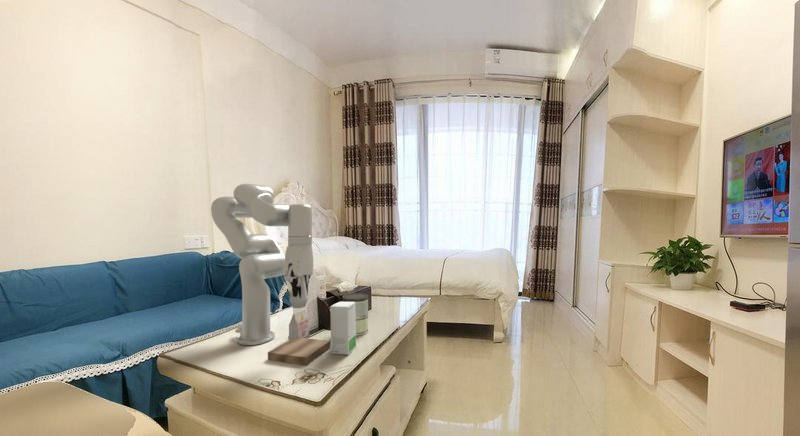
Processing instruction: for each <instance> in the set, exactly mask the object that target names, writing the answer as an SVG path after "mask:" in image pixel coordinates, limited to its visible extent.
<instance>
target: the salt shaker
mask: <svg viewBox="0 0 800 436" xmlns="http://www.w3.org/2000/svg"><path fill="white" fill-rule="evenodd" d="M295 280H296V281H297V279H295ZM300 286H301V298H300V297H299V292H298V295H297V296H296V297H294V296H293V290H292V289H291V292H290V296H289V303H290V304H291V306H292V308H293V309H302V308H305V307H306V305H307V303H308V300H309V297H308V296H309V294H308V295H307V289H306V283H305V277H304V276H301V277H300Z"/></svg>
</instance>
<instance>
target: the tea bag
mask: <svg viewBox="0 0 800 436" xmlns="http://www.w3.org/2000/svg"><path fill="white" fill-rule="evenodd" d="M309 324H310V321H309V317H308V314H307V313H306V309H302V310H300V311H297V312H295V313H292V317H291V319H290V321H289V324H288V341H289V340H291V339H293V338H295V337H300V338H306V337H307V336H308V337H310V328H309V327H310V325H309ZM308 337H307V338H308Z"/></svg>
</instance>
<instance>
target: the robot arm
mask: <svg viewBox="0 0 800 436" xmlns="http://www.w3.org/2000/svg"><path fill="white" fill-rule="evenodd" d="M274 199H275V195H274V192H273V190H272V188H270V187H269V186H267V185H264V184H262V185H261V184H253V183H241V184H238V185H237V186H236V187H235V188H234V189H233V196H221V197H217V198H215V199H214V200H213V201H212V203H211V206H210V212H211V217H212V220H213V222H214V224H215V226H216V227H217V228H218V230H219V231H220V232H221V234H223V236H224V237H225V240H226V241H227V242H228V244H229V246H230V248H231V251H232V252H233V253H234V255H235V256H236V257H237V258H239V259H241V260H240V262H239V265H238V270H239V275H240V281H241V292H242V293H241V296H242V297H241V300H242V304H241V306H242V307H241V310H242V311H241V313H242V314H241V316H242V318H241V319H242V321H241V322H242V325H238V327H237V328H235V330H234V331H235V333H236V334H239V336H238V338H237V344H239V345H243V346H255V345H261V344H266V343H268V342H270V341H272V340H274V338H275V335H276V334H275V332H273V331H271V289H270V287H269V285H268V284H267V283H266V281H265V279H270V278H277V277H281V276H283V275H284V277H285V280H286V281H287V282H289V284H290V287H291V291H292V290H293V296H294V297H296V296H297V295H298V292H299V297H300V298H301V286H300V277H301V276H304V277H305V283H306V289H307V295H308V296H309V284H310V278H311V277H312V275H313V273H314V254H313V253H314V252H313V246H312V245H313V209H312V206H311V205H309V204H306V203H300V204H299V203H295V204H282V203H274ZM238 218H240V219H241V218H244V219H245V218H246V219H250V218H252V219H253V220H254V221H256V222H258V223H259V224H261V225H262V226H265V227H287V236H288V237H287V246H286V249H285V253H284V252H283V250H282V248H281V247H280V246H279V244H278V243H277V241H276V240H275V238H274V237H273V236H272V235H269V234H267V233H252V232H250V230H249V228H248V227H247V226H246V224H245V223H243V222H242V221H241V220H239V219H238ZM295 279H297V281H296V280H295Z"/></svg>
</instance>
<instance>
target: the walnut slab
mask: <svg viewBox="0 0 800 436" xmlns="http://www.w3.org/2000/svg"><path fill="white" fill-rule="evenodd" d="M329 350H331V340H324V339H315V338H309V337H307V338H300V337H295V338H293V339H291V340H289V339H288V341H285V342H283V343H282V344H280V345H278V346H277V347H275V348H273V349H271V350H270V351H267V361H271V362H277V363H284V364H292V365H298V366H305V367H307V366H308V365H310V364H311V363H313V362H314V361H315V360H317V359H318V358H319V357H320V356H322V355H323V354H324V353H326V352H327V351H329Z"/></svg>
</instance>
